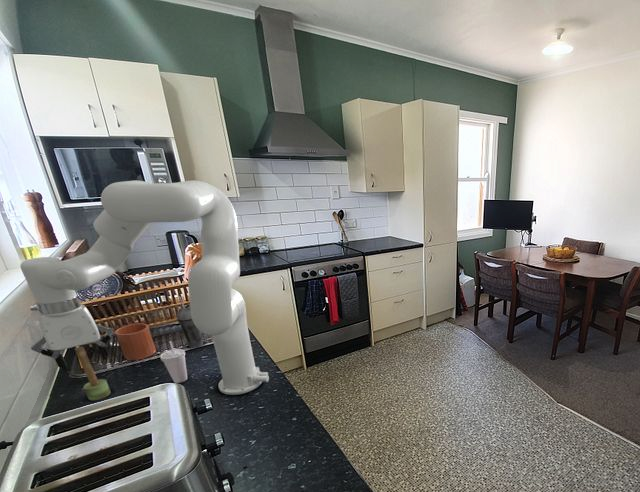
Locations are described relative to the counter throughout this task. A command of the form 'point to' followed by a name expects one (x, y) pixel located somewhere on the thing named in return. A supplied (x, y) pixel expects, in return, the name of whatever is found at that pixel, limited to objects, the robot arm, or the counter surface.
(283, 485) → the counter surface
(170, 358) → the smoothie
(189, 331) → the beverage cup
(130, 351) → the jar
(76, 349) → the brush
